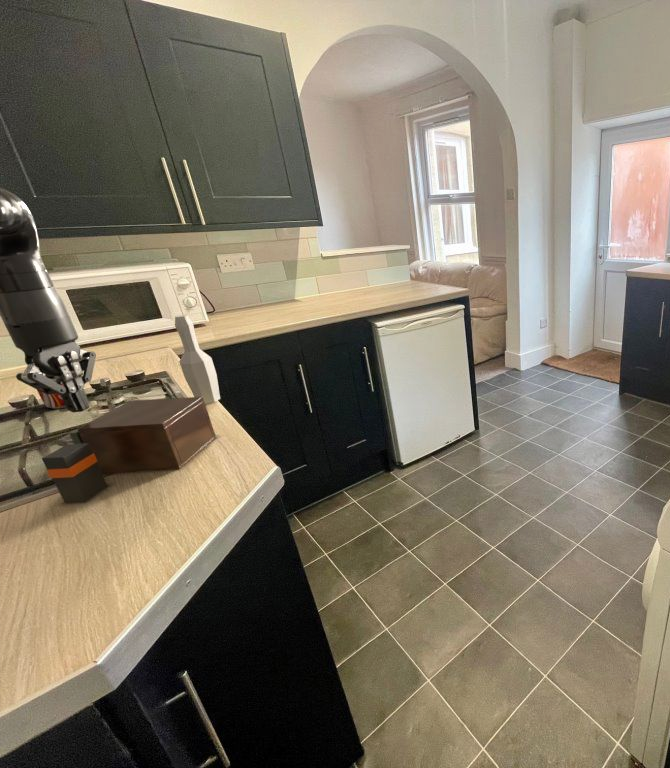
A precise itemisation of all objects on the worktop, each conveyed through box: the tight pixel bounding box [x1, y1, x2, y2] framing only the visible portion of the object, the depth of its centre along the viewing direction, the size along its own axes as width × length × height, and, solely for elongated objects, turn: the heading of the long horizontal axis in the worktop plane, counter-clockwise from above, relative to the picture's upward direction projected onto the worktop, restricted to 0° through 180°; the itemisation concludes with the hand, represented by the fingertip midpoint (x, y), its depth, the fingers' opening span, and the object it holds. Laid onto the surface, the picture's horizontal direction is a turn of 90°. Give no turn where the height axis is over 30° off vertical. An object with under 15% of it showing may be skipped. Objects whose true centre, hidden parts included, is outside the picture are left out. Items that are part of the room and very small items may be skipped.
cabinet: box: [77, 396, 217, 476], centre depth 79 cm, size 14×12×10 cm
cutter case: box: [41, 443, 109, 504], centre depth 68 cm, size 3×5×9 cm
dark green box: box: [55, 408, 115, 448], centre depth 79 cm, size 18×11×8 cm, turn 95°
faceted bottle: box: [174, 314, 221, 405], centre depth 101 cm, size 6×6×22 cm
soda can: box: [36, 382, 67, 410], centre depth 104 cm, size 7×7×12 cm
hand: (80, 410), depth 76 cm, fingers closed
